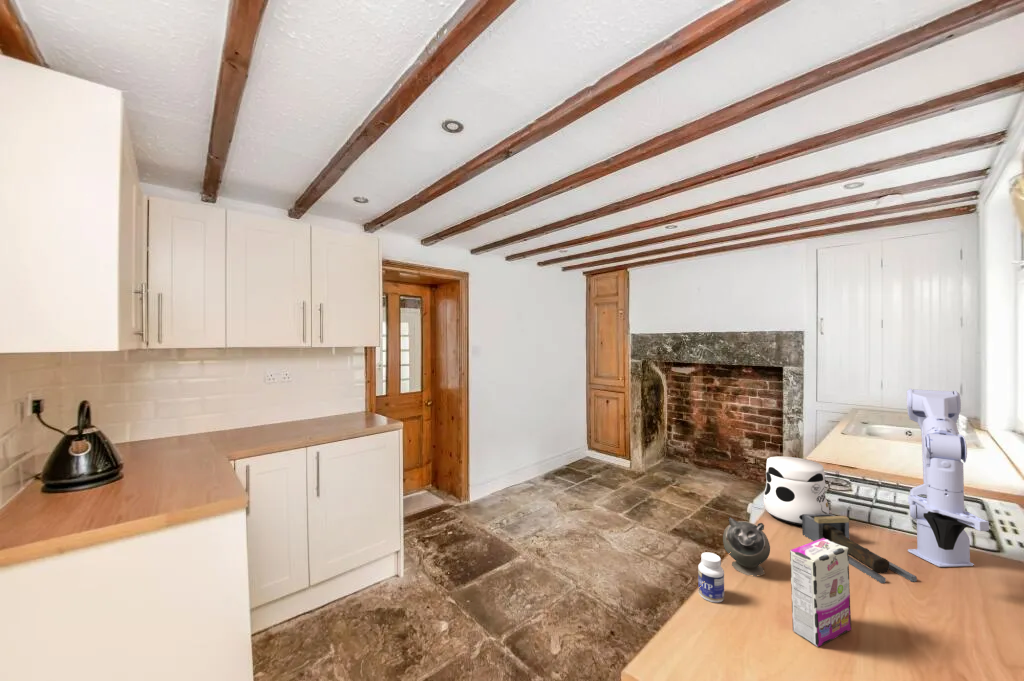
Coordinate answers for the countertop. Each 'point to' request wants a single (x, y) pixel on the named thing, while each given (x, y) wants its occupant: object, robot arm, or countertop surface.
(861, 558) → the dark brown log
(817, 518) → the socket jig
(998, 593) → the countertop surface
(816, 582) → the candy bar box
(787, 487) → the white spotted cookie jar
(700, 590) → the pill bottle
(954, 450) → the robot arm
